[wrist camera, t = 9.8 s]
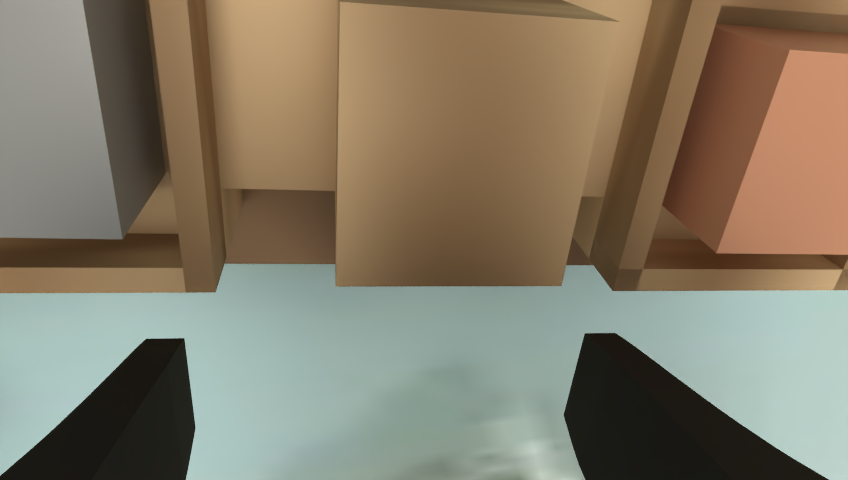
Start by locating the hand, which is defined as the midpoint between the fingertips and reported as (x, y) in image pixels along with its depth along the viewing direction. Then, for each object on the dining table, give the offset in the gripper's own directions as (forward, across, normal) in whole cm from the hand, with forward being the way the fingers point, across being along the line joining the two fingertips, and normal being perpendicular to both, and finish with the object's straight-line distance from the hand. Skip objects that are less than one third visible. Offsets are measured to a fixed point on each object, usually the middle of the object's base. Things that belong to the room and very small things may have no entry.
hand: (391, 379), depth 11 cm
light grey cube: (+4, +7, -4) cm, 9 cm away
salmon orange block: (+4, -9, -4) cm, 10 cm away
